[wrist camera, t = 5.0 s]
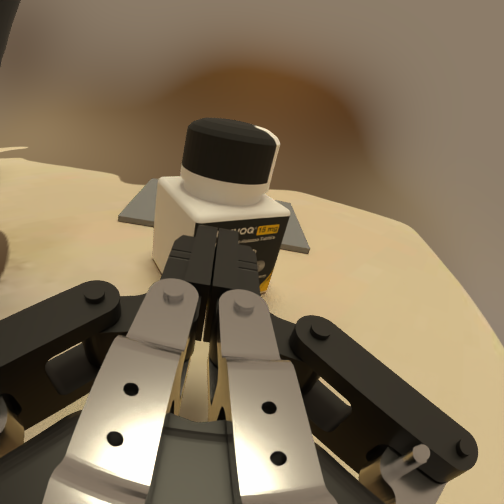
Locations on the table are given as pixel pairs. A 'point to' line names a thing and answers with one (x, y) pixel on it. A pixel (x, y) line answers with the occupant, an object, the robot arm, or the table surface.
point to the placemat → (144, 214)
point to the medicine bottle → (223, 191)
